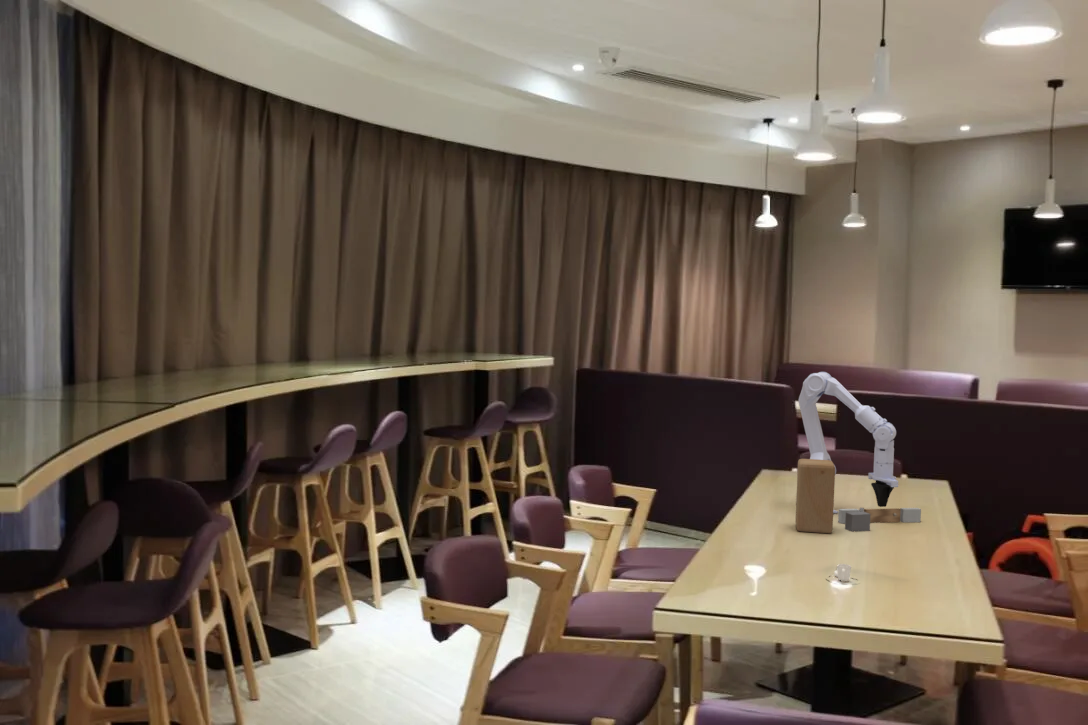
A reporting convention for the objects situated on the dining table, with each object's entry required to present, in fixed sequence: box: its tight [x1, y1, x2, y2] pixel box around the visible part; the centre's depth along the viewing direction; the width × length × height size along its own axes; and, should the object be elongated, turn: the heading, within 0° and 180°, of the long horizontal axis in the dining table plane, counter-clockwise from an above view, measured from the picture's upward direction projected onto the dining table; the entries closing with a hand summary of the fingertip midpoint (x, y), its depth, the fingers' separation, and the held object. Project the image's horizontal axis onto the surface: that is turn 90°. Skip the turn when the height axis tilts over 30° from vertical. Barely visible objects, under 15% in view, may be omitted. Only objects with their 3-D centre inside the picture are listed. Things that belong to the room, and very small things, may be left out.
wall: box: [837, 507, 922, 525], centre depth 305 cm, size 26×2×4 cm, turn 100°
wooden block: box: [794, 458, 836, 534], centre depth 292 cm, size 10×10×20 cm
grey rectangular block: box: [844, 512, 871, 532], centre depth 294 cm, size 6×4×5 cm, turn 105°
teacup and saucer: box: [833, 563, 852, 582], centre depth 240 cm, size 9×8×4 cm
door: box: [864, 507, 901, 524], centre depth 305 cm, size 12×2×4 cm, turn 100°
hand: (881, 506), depth 310 cm, fingers closed
